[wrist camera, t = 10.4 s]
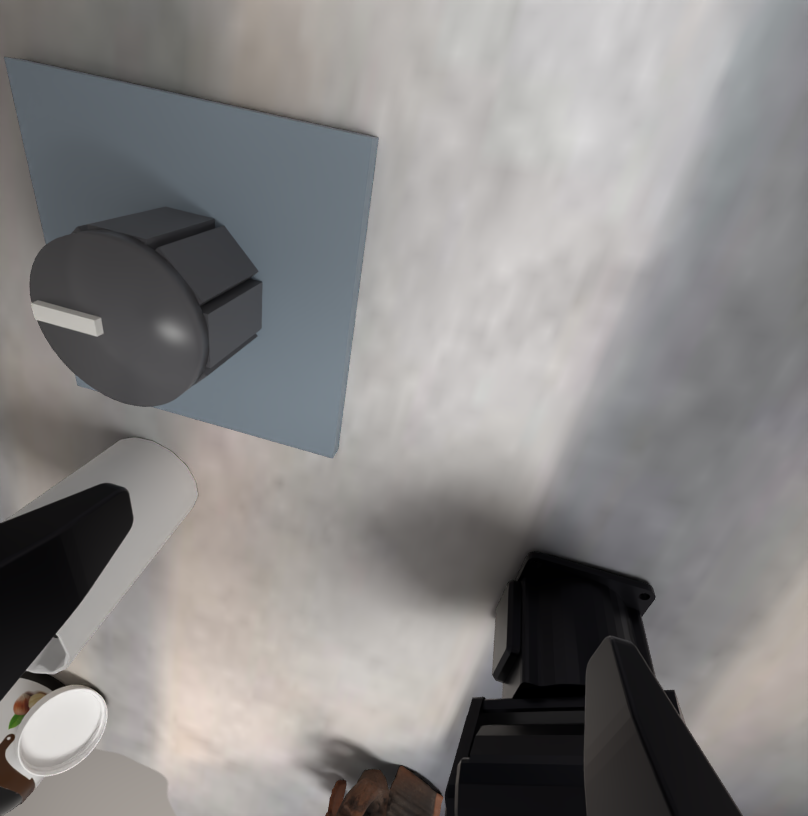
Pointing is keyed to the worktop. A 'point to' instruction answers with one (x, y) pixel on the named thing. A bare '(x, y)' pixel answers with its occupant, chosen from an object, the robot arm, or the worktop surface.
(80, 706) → the spread jar
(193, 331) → the knob
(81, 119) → the base plate
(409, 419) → the worktop surface
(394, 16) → the worktop surface
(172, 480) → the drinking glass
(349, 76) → the worktop surface
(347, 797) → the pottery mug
